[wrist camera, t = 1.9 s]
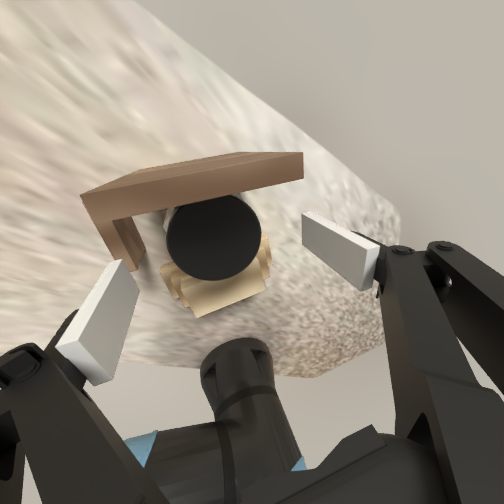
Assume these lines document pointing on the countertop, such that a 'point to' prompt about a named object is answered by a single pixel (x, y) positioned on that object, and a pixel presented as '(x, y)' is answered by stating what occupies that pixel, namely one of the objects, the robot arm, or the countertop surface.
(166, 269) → the offcut long
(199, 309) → the offcut short
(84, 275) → the countertop surface
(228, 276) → the jar
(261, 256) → the offcut mid
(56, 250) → the countertop surface
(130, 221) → the rack
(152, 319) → the countertop surface
